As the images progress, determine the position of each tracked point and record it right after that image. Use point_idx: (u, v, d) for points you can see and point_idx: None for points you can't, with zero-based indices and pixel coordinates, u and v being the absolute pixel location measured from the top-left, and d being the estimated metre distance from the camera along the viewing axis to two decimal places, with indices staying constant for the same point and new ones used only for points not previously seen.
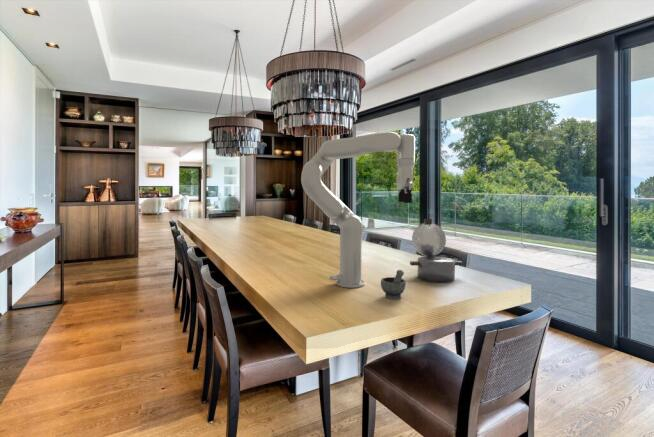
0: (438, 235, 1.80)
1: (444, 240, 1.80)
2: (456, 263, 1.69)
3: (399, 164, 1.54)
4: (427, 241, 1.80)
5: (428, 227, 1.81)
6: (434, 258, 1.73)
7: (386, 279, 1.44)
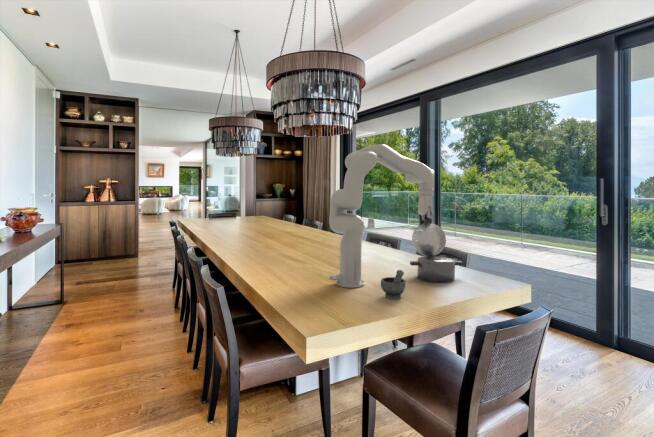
0: (438, 235, 1.80)
1: (444, 240, 1.80)
2: (456, 263, 1.69)
3: (421, 194, 1.83)
4: (427, 241, 1.80)
5: (428, 227, 1.81)
6: (434, 258, 1.73)
7: (386, 279, 1.44)
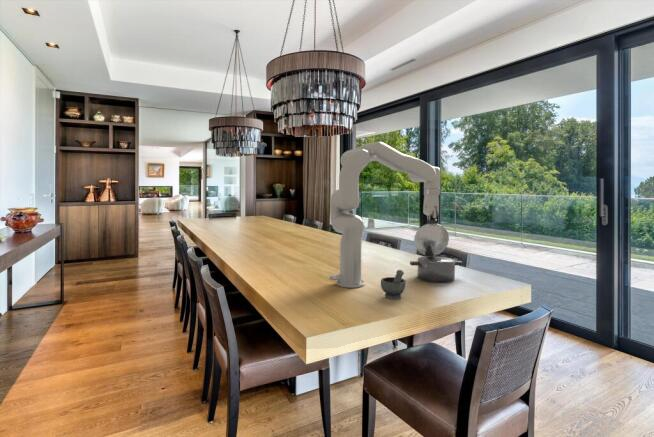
0: (441, 236, 1.76)
1: (447, 241, 1.77)
2: (456, 263, 1.69)
3: (426, 193, 1.74)
4: (429, 242, 1.76)
5: (432, 228, 1.74)
6: (434, 258, 1.73)
7: (386, 279, 1.44)
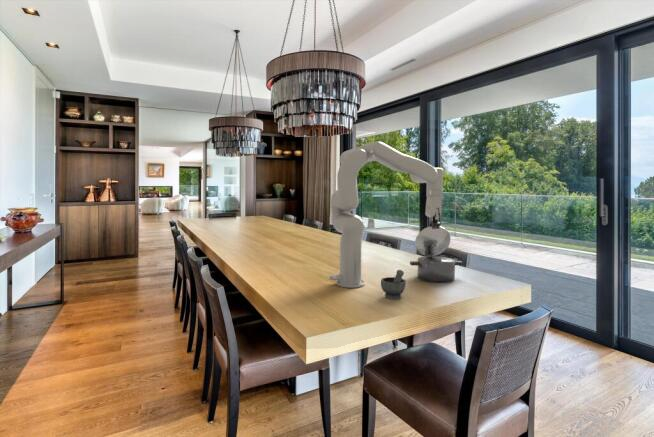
0: (443, 238, 1.74)
1: (448, 242, 1.75)
2: (456, 263, 1.69)
3: (429, 194, 1.70)
4: (430, 244, 1.75)
5: (435, 231, 1.71)
6: (434, 258, 1.73)
7: (386, 279, 1.44)
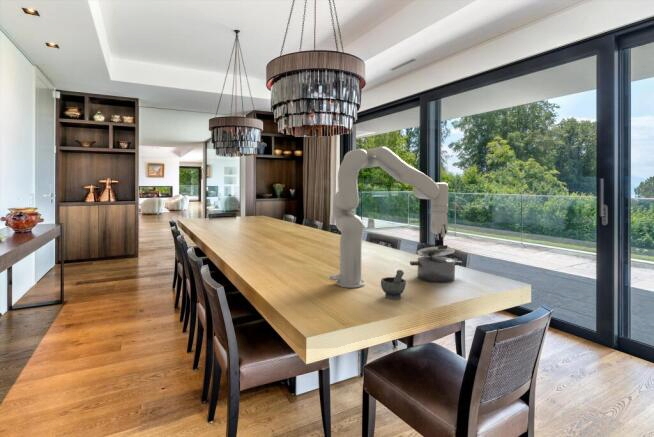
0: (447, 251, 1.69)
1: (451, 252, 1.71)
2: (456, 263, 1.69)
3: (434, 211, 1.64)
4: (432, 253, 1.71)
5: (440, 250, 1.65)
6: (434, 258, 1.73)
7: (386, 279, 1.44)
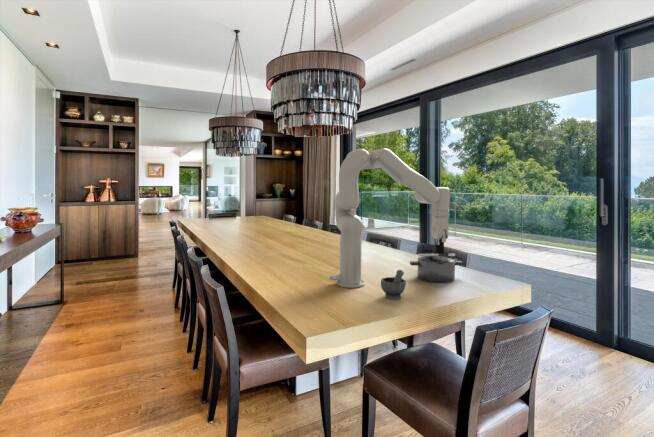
0: None
1: None
2: (456, 263, 1.69)
3: (435, 215, 1.62)
4: None
5: None
6: (434, 258, 1.73)
7: (386, 279, 1.44)
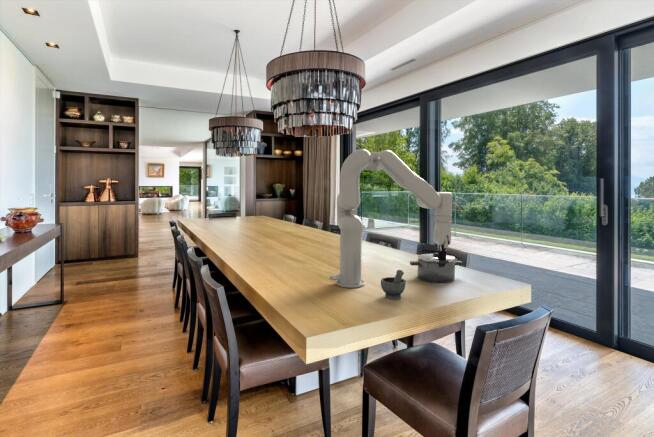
0: None
1: None
2: (456, 263, 1.69)
3: (437, 221, 1.59)
4: None
5: None
6: None
7: (386, 279, 1.44)
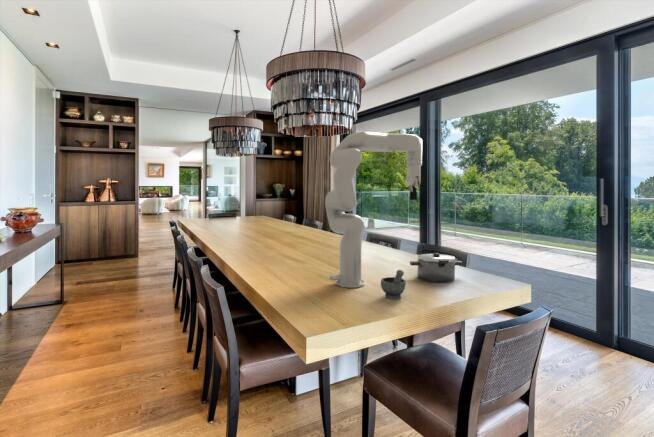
0: None
1: None
2: (456, 263, 1.69)
3: (408, 164, 1.76)
4: None
5: None
6: None
7: (386, 279, 1.44)
